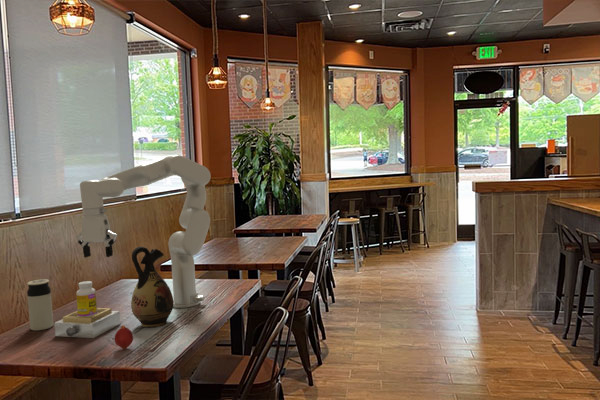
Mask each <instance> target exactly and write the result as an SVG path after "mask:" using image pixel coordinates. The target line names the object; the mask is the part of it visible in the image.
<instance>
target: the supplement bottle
mask: <svg viewBox="0 0 600 400" xmlns="http://www.w3.org/2000/svg"><path fill="white" fill-rule="evenodd" d="M78 287H79V289H78V290H77V291H76V292H75V293H76V295H75V296H76V305H77V306H76V307H77V310H76V311H78V317H92V316H94V315H96V314H97V308H98V306H97V305H98V303H97V293H96V289H95V288H93V281H91V280H87V281H81V282H79V283H78Z"/></svg>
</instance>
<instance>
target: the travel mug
mask: <svg viewBox="0 0 600 400" xmlns="http://www.w3.org/2000/svg"><path fill="white" fill-rule="evenodd" d="M49 282H50V280H49V279H48V278H47V279H45V278H42V279H35V280H31V281H28V282H27V286H28V289H27V291H26V294H27V305H28V307H27V308H28V320H29V329H30V330H32V331H34V332H35V331H38V332H39V331H44V330H47V329H50V328H52V327H53V326H54V315H53V303H52V291H51V287H50V285H49Z"/></svg>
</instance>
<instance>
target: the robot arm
mask: <svg viewBox="0 0 600 400" xmlns="http://www.w3.org/2000/svg"><path fill="white" fill-rule="evenodd" d="M211 175H212V174H211V172H210V170H209V168H208V167H206V166H205V165H203V164H200V163H197V162H196V161H194V160H192V159H189V158H187V157H185V156H182V155H179V154H174V155H173V154H171V155H166V156H162V157H159V158H156V159H154V160H152V161H149V162H146V163H143V164H141V165H140V164H139V165H138V166H135V167H132V168H129V169H126V170H123V171H121V172H117V173H114V174H111V175H108V176H107V177H104V178H101V179H100V180H99V179H91V180H90V179H88V180H82V181H80V183H79V189H80V199H81V207H82V216H81V232H80V233H78V234H77V235H76V236H75V239H76V240H77V242H78V245H80V247H81V248H82V251H83V258H84V259H85V258H88V257H91V255H92V254H91V246H90V243H103V244H104V245H105V256H106V258H110V257H112V256H113V255H114V254H113V253H114V251H113V246H114V244H115V242H116V241H117V237H118V233H115V232H113V231H112V230H111V225H110V221H109V218H108V215H106V214H105V213H107V208H105V207H104V198H118V197H120V196H121V195H122V194H123V193H124V191H126V190H130V189H134V188H139V187H145V186H149V185H152V184H153V183H156V182H159V181H162V180H165V179H167V178H170V177H172V176H178V177H180V179H181V182H182V183H183V184H184V187H185V189H186V197H185V199H184V203H183V206H182V209H181V212H180V215H179V218H178V223H179V225H180V226H181V227H182V228H183V229H185V231H183V230H182V231H175V232H174V233H172V234H171V235H170V237H169V239H168V250H169V254H170V261H171V263H170V264H171V277H172V278H171V280H172V290H173V293H172V295H173V301H174V305H173V309H174V308H176V309H186V308H191V307H195V306H198V305H200V303H201V302H204V301H205V296H204V295H199V292H198V291H197V290H196V289H197V288H196V287H197V285H196V270H195V266H196V265H195V258H194V256H196V255H198V254H199V253H200V252H201V250H202V249H203V246H204V243H205V241H206V237H207V235H208V232H209V229H210V225H211V218H210V213H209V212H208V211H207V210H206V209H204V208H205V205H206V201H207V191H206V185H207V184H209V182H210V181H211Z"/></svg>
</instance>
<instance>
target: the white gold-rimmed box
mask: <svg viewBox="0 0 600 400" xmlns="http://www.w3.org/2000/svg"><path fill="white" fill-rule="evenodd" d="M120 313H121V312H120V310H112V308H105V307H104V308H103V307H97V314H96V315H94V316H92V317H78V310H76V311H74V312H71V313H69V314H66V315H64V316H62V319H59V320H57V321H55V322H53V325H54V333H55V334H54V335H55V337H62V338H63V337H65V338H66V337H68V338H82V339H83V338H84V339H86V338H87V339H94V338H96V337H99V336H100V335H102V334H103V333H106V332H107V331H109V330H111V329H113V328H116V327H117V326H119V325H121V315H120Z"/></svg>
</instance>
